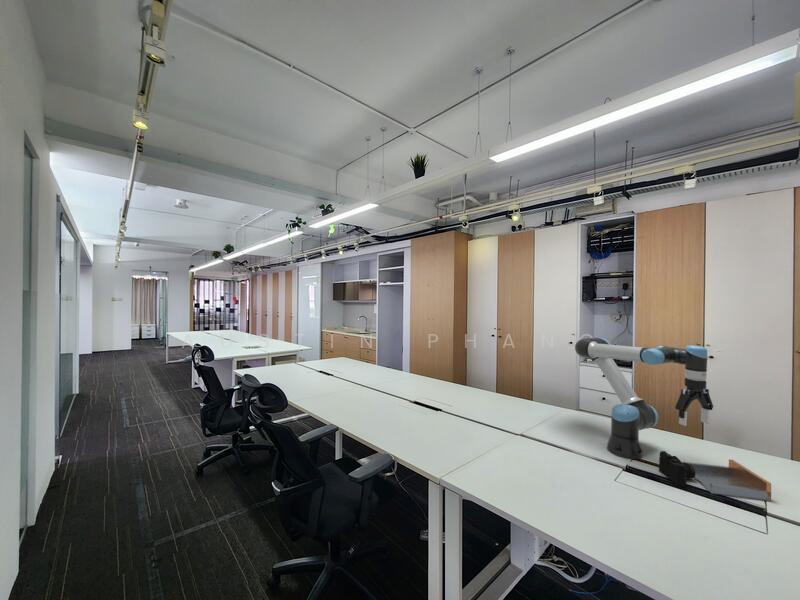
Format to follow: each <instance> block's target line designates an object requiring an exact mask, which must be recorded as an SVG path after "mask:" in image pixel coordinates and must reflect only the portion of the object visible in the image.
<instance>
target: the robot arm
mask: <svg viewBox="0 0 800 600" xmlns="http://www.w3.org/2000/svg"><path fill="white" fill-rule="evenodd" d="M574 349H575V352H576V354H577V355H578V356H580V357H582V358H584V359H590V360H591V362H592V363H593V364H596V365H597V366H598V368H599V370H600V371H601V372H602V374H603V375H604V377H605V379H606V380H607V382H608V383H609V385H610V386H611V388H612V389H613V391H614V393H615V395H616V397H618V399H619V401H620V403H621V404H616V405H613V407H612V408H611V412H610V413H611V415H610V416H611V420H610V421H611V422H610V423H611V427H610V428H611V429H610V432H611V434H610V436H609V439H608V442H607V443H606V444H607V445H606V449H607V451H608V452H609V453H611V454H614V455H616V456H619V457H620V458H621V457H622V458H625V459H631V460H639V459H640V460H641V459H642V458H643V456H644V453H643V449H642V446H641V444H640V441H639V436H640V435H639V433H640V431H641V430H646V429H651V428H653V427H655V426H656V425H657V423H658V422H659V414H658V412H657V410H656V409H655V408H654V407H653V406H652V405H649V404H647V403H646V401H645V400H644V398H641V397H639V396H638V395H637V393H636V392H635V390H634V388H632V386H631V385H630V383H629V382H628V380H627V378H626V376H625V375H624V374H623V372H622V371H621V370H620V367H619V366H618V365H617V363H616V362H615V360H621V361H627V362H637V363H643V364H644V363H645V364H647V365H652V366H654V365H655V366H658V365H661V364H663V365H664V364H670V363H671V364H680V365H684V367H685V368H684V377H685V378H684V386H685V387H686V389H683V388H682V389H681V390H680V394H679V398H678V399H677V402H676V404H675V410H677V411H678V424H679V425H682V426H684V427H687V424H688V423H687V422H688V412H687V409H688V408H689V407H690V405H691V403H692V402H693V401H695V400H698V402H699V403H700V405H701V408H700V422H701V423H703V424H710V423H709V420H710V418H709V417H710V411H713V409H714V405H713V402H712V398H711V395H710V391H709V390H710V389H708V388H707V377H708V375H707V371H708V358H709V357H708V349H707V348H706V347H704V346H700V345H686V346H685V348H679V347H673V346H668V345H667V346H664V345H659V346H657V347H655V348H653V347H644V346H643V347H641V346H629V345H618V344H611V343H610V342H609V340H607V339H605V338H603V337H589V338H580V339H578V341H576V343H575V345H574Z"/></svg>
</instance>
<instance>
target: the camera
mask: <svg viewBox="0 0 800 600" xmlns="http://www.w3.org/2000/svg"><path fill="white" fill-rule="evenodd" d="M658 458H659V460H658V471H659V472H660V473H661V474H662V475H664V476H665V477H666V478H667V479H668V480H669V481H671V482H672V483H673V484H674V485H676V486H677V487H681V488H686V485H687V484H686V483H687V479H690V480H691V479H694V477H695V470H694V468H693V466H692V465H691V464H689V463H690V462H689V463H682V462H683V461H681V460H680V459H679V458H678V457H677V456H676V455H671V454H670V453H668V452H667V451H665V450H661V451H660V452H659V457H658Z"/></svg>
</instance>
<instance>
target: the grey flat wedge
mask: <svg viewBox="0 0 800 600" xmlns="http://www.w3.org/2000/svg"><path fill="white" fill-rule="evenodd" d="M681 462H682V463H689V464H691V465H692V466H693V468H694V470H695V477H694V478H693V479H694V480H695V481H696V482H697V483H699V484H700V485H701V486H702V487H704V488H705V489H706V490H707V491H708V492H710V493H711V494H712V495H720V496H729V497H736V498H745V499H750V498H754V499H753V500H758V499H761V500H760V501H767V502H768V501H769V502H772V483H771V482H770V481H768V480H766V479H765V478H763V477H762V476H760V475H758V474H756V473H755V472H753V471H752V470H750V469H749V468H747V467H745V466H743V465H742V464H740V463H739V462H737V461H736V460H734V459H730V458H729V459H728V466H724V465H715V464H707V463H706V464H704V463H696V462H686V461H681Z"/></svg>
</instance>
